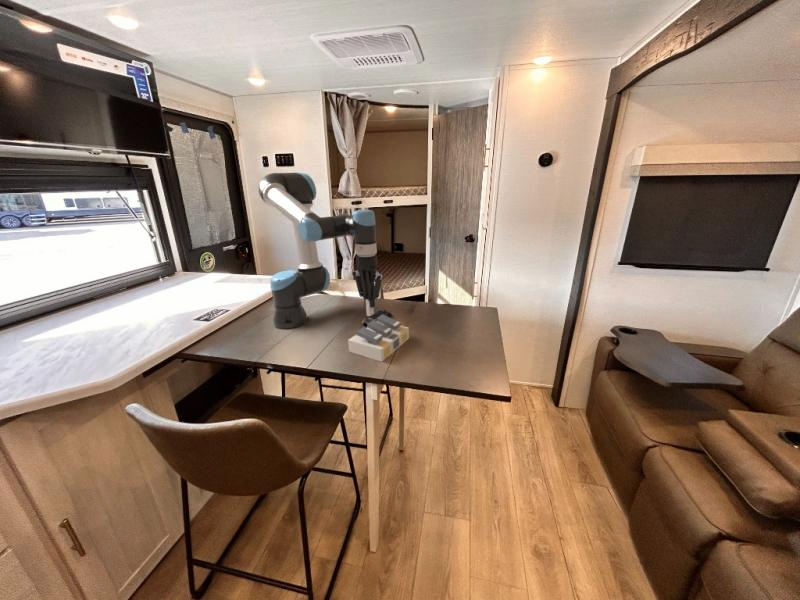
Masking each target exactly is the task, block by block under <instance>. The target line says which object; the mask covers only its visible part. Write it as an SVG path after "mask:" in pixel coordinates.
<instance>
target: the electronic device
mask: <svg viewBox="0 0 800 600" xmlns="http://www.w3.org/2000/svg"><path fill="white" fill-rule="evenodd" d="M382 314H383V315H385V316H387V317H389V318H392V319H393V316H394V313H393V312H392V311H391V312H390V311H387V310H385V309H378V310H377V311H376V312H374V314H372V315H371V316H367V317H365V318H363V319H362V321H361V323H362V324H361V325H362V327H364V328H366V326H365V324H366V325H367V324H368V323H370V322H371V321H373V320H374V321H377V318H378V317H379V316H381V315H382Z"/></svg>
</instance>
